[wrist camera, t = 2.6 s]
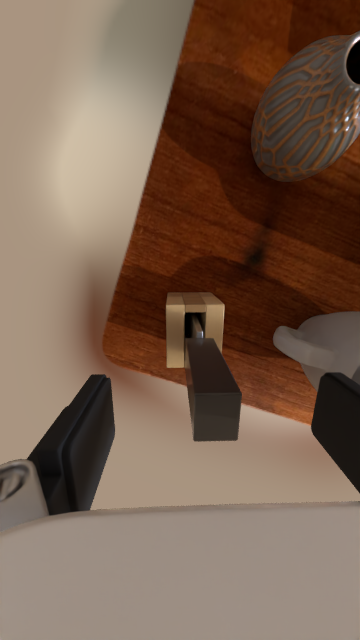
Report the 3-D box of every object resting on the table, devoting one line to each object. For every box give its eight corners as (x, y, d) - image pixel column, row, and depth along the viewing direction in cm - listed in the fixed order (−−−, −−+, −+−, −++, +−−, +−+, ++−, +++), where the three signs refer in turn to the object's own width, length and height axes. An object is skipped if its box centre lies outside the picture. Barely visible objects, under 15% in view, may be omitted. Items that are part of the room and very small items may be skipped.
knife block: (167, 292, 22) (165, 304, 16) (211, 292, 22) (225, 304, 17) (168, 341, 24) (166, 368, 18) (209, 340, 24) (221, 367, 18)
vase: (322, 91, 18) (453, -53, 10) (318, 186, 20) (425, 134, 12) (238, 103, 18) (296, -31, 10) (242, 196, 20) (294, 152, 12)
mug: (373, 310, 23) (505, 345, 14) (335, 382, 26) (428, 453, 16) (268, 279, 22) (337, 295, 13) (238, 357, 24) (279, 419, 15)
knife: (180, 303, 23) (194, 384, 8) (198, 303, 23) (243, 384, 8) (180, 331, 23) (193, 450, 9) (197, 331, 23) (237, 449, 9)
